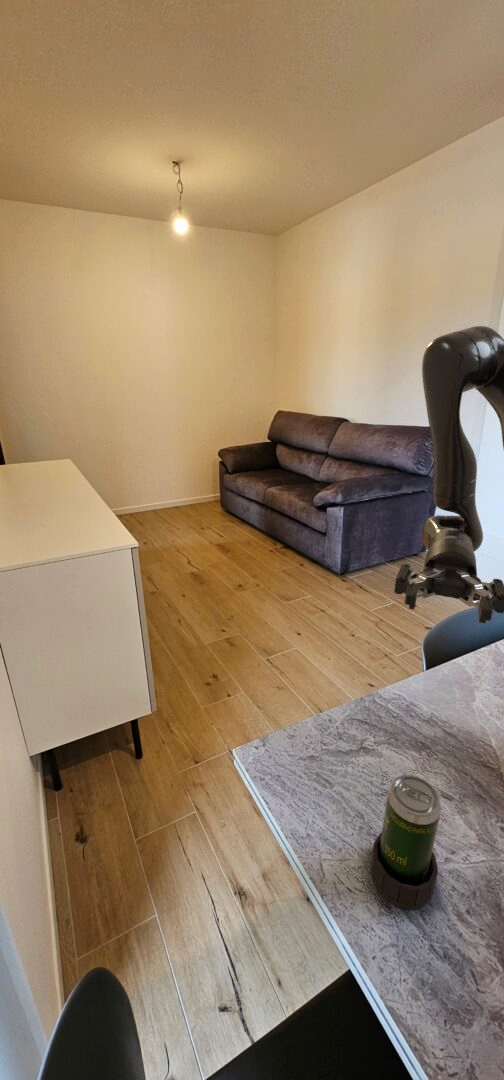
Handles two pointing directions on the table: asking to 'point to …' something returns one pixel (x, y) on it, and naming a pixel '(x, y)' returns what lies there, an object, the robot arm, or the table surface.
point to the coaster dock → (400, 892)
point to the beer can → (409, 829)
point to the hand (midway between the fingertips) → (447, 609)
